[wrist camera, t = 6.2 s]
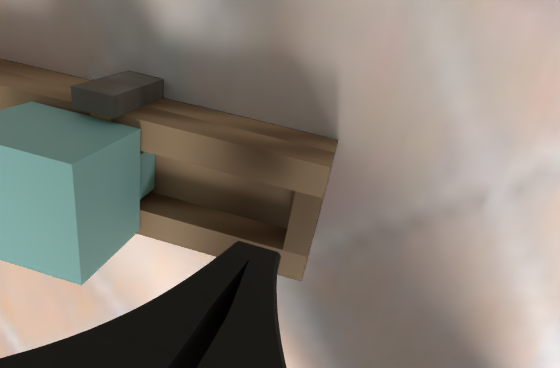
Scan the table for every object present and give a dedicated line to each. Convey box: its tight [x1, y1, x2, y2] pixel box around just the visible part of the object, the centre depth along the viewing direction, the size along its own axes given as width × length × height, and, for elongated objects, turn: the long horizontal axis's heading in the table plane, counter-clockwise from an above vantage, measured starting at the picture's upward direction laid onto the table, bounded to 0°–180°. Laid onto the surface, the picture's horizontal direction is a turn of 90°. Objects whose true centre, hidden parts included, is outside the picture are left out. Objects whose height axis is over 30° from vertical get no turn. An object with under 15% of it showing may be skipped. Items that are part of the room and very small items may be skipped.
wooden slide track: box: [0, 59, 338, 281], centre depth 15 cm, size 17×7×5 cm, turn 81°
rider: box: [0, 102, 155, 285], centre depth 14 cm, size 4×4×5 cm
